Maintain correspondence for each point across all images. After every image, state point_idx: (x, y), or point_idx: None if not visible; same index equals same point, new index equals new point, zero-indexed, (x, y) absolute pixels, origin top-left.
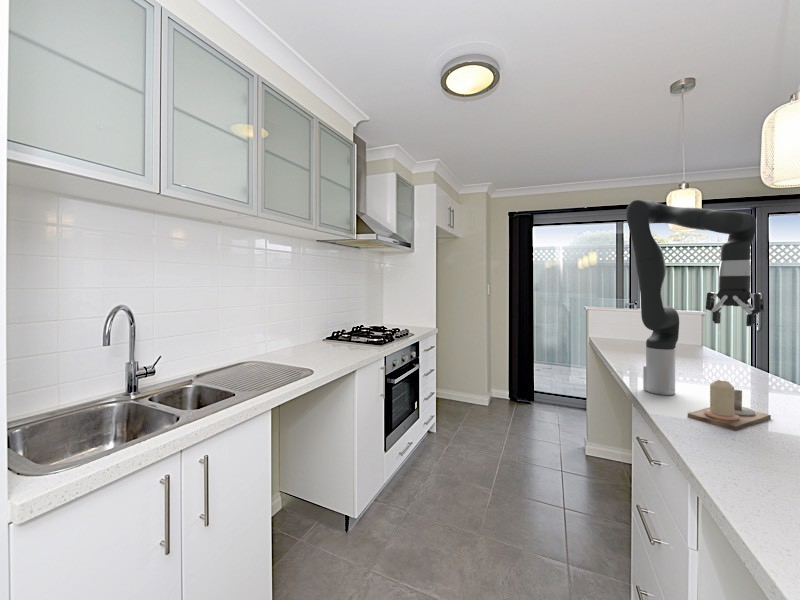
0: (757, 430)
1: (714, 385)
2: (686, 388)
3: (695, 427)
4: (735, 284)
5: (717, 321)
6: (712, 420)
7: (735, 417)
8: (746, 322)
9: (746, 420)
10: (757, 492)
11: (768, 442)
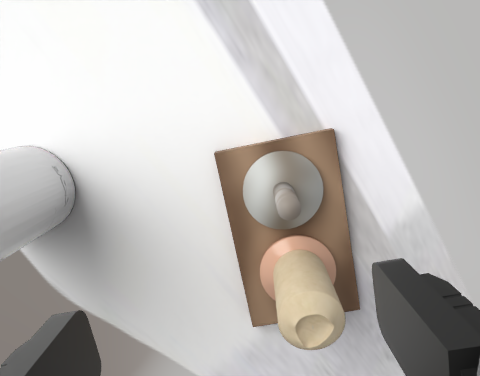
0: (374, 254)
1: (307, 349)
2: (5, 52)
3: (312, 365)
4: None
5: (87, 371)
6: None
7: (331, 269)
8: (396, 356)
9: (341, 242)
10: None
11: None
